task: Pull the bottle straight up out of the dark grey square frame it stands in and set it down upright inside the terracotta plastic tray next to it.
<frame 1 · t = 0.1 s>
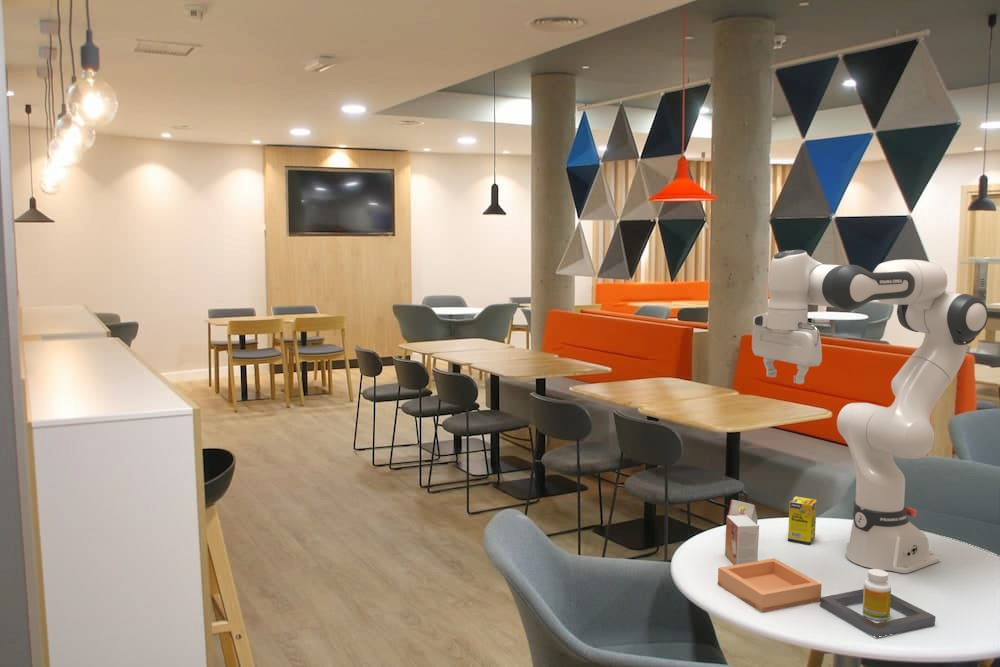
hand: (784, 380, 196), 48 cm above the table, tool pointing down, fingers open, 8 cm apart
small box: (740, 561, 212), on the table
supplement bottle: (875, 616, 181), resting in dark grey square frame
tray: (768, 592, 193), on the table
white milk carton: (741, 538, 228), on the table
dark grey square frame: (875, 615, 181), on the table
supplement box: (801, 540, 226), on the table
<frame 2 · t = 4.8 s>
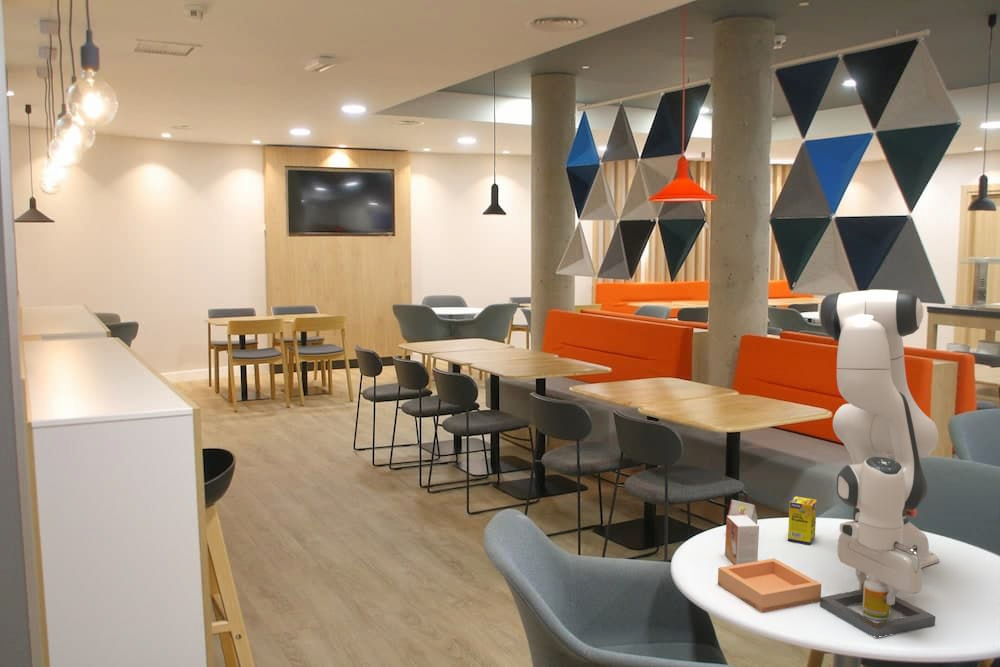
hand: (876, 597, 181), 4 cm above the table, tool pointing down, fingers closed on supplement bottle, 5 cm apart
supplement bottle: (875, 616, 181), resting in dark grey square frame, touching gripper
everything else where it was.
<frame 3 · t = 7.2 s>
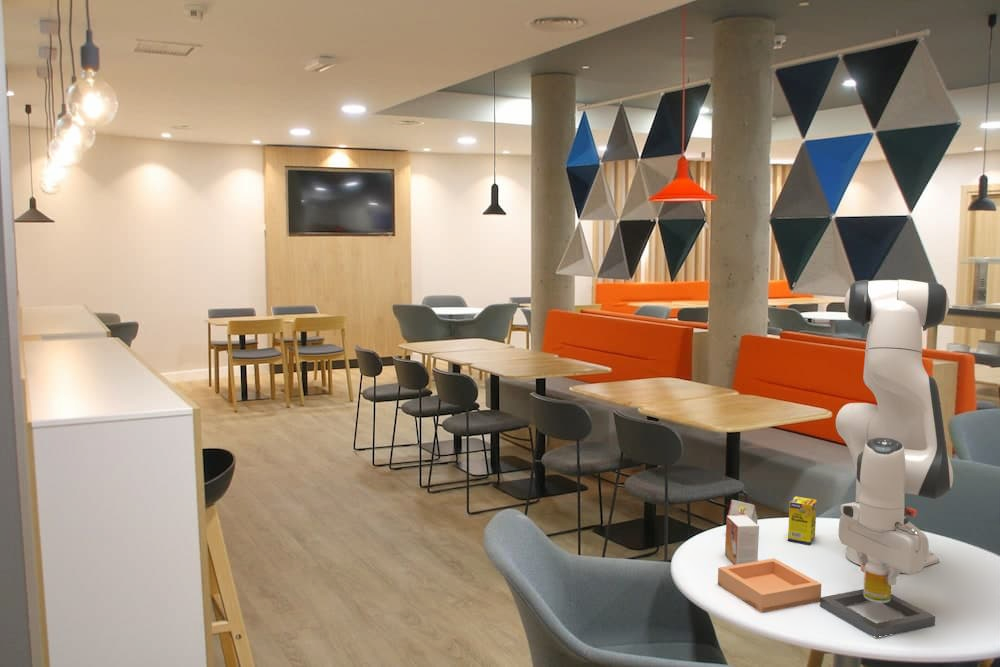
hand: (877, 578, 181), 8 cm above the table, tool pointing down, fingers closed on supplement bottle, 5 cm apart
supplement bottle: (876, 599, 181), point 4 cm above the table, touching gripper
everything else where it was.
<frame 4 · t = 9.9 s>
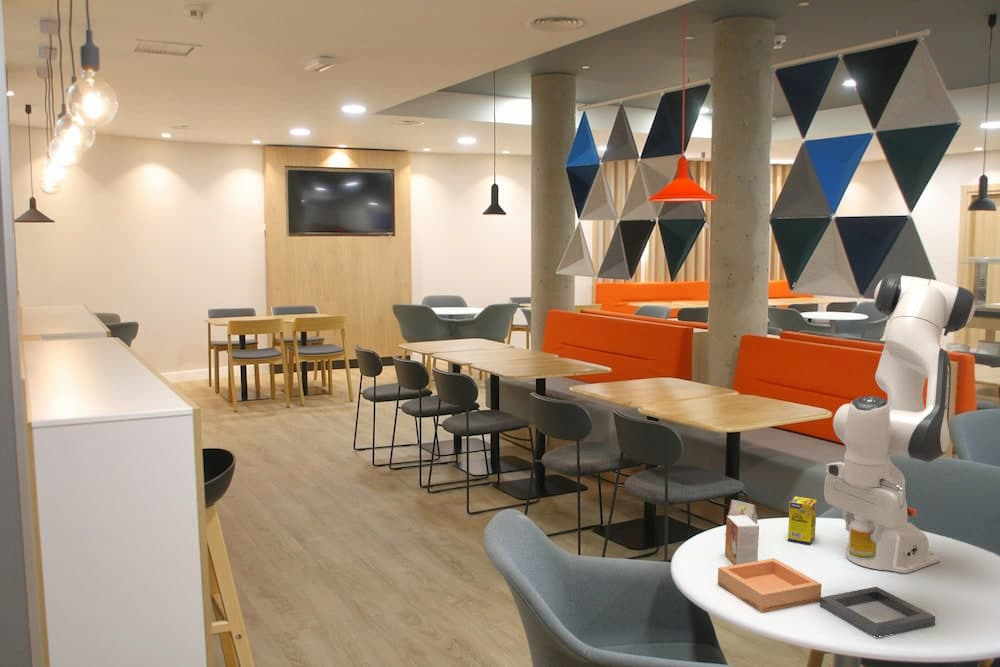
hand: (862, 536, 181), 17 cm above the table, tool pointing down, fingers closed on supplement bottle, 5 cm apart
supplement bottle: (861, 557, 182), point 12 cm above the table, touching gripper
everything else where it was.
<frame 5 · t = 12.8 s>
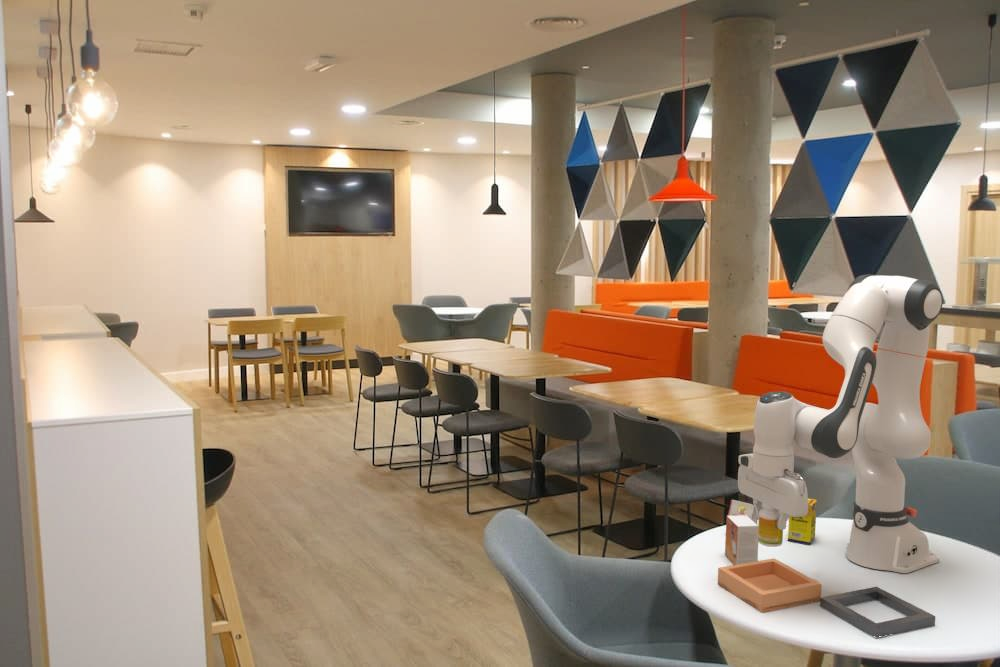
hand: (770, 523, 191), 16 cm above the table, tool pointing down, fingers closed on supplement bottle, 5 cm apart
supplement bottle: (769, 543, 192), point 12 cm above the table, touching gripper
everything else where it was.
when the fingers open (6 cm above the table, at t = 15.4 s): supplement bottle stays where it is, resting on tray.
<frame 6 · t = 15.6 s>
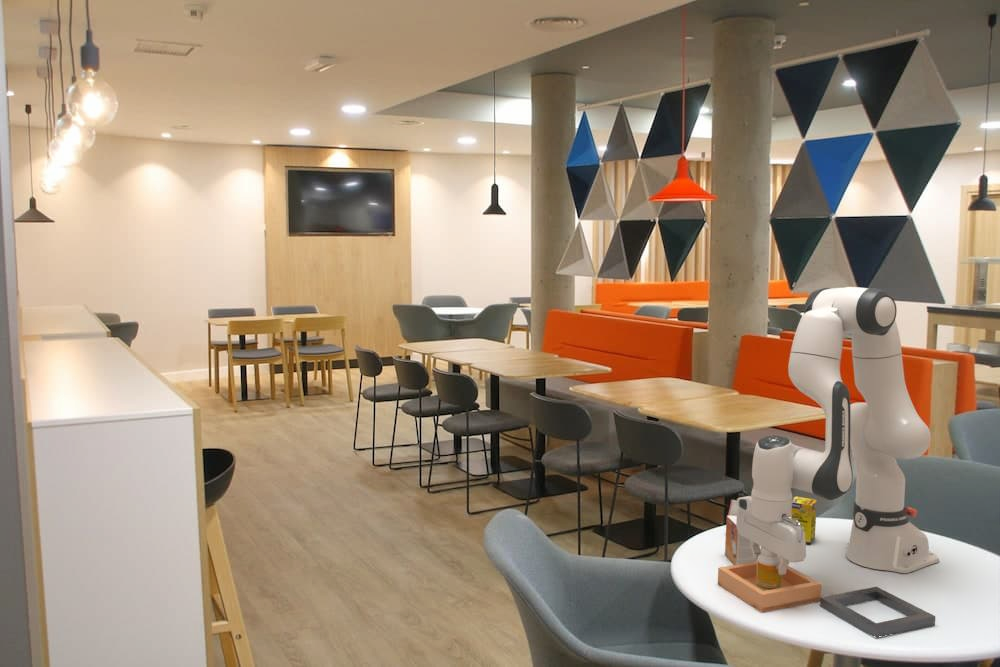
hand: (769, 566, 192), 6 cm above the table, tool pointing down, fingers open, 7 cm apart
supplement bottle: (768, 588, 193), point 1 cm above the table, touching tray
everything else where it was.
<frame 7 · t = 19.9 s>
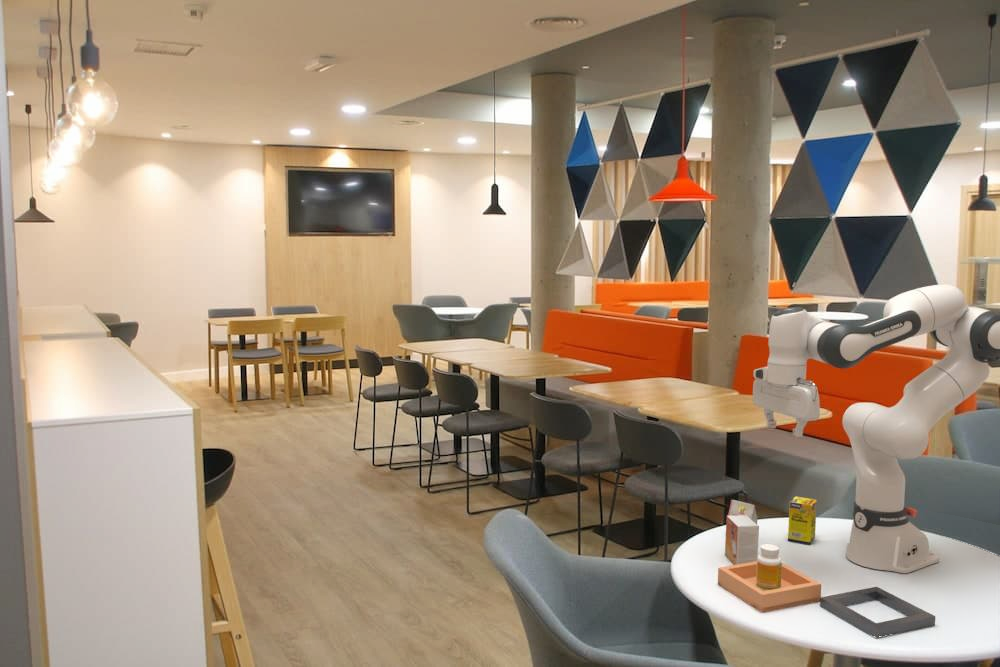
hand: (784, 431, 203), 34 cm above the table, tool pointing down, fingers open, 8 cm apart
nothing on the table moved.
at the end: supplement bottle inside the target area on the tray (0.1 cm from its centre), point 0.8 cm above the tray's base; supplement bottle tilted 0°; the gripper is holding nothing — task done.
